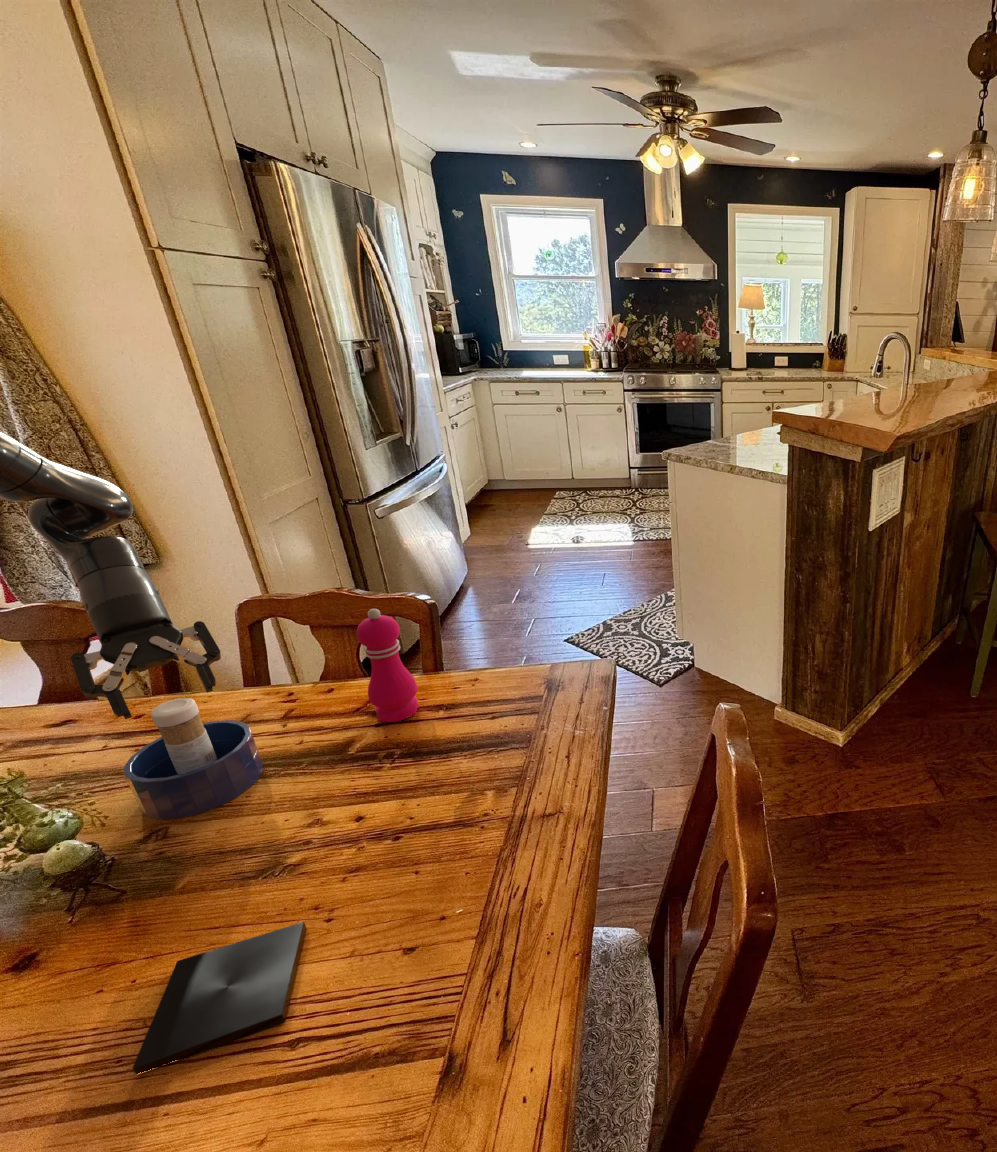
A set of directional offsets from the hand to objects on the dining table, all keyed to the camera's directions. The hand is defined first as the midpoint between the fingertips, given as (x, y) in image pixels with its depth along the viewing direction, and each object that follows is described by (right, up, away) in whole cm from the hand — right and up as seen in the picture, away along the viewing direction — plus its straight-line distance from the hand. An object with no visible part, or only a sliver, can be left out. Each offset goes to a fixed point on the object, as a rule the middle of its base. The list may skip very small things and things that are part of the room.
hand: (170, 703), depth 85 cm
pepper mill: (+19, -6, +21) cm, 29 cm away
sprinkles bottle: (+2, -13, +3) cm, 13 cm away
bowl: (+2, -13, +4) cm, 13 cm away
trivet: (+29, -25, -23) cm, 45 cm away
